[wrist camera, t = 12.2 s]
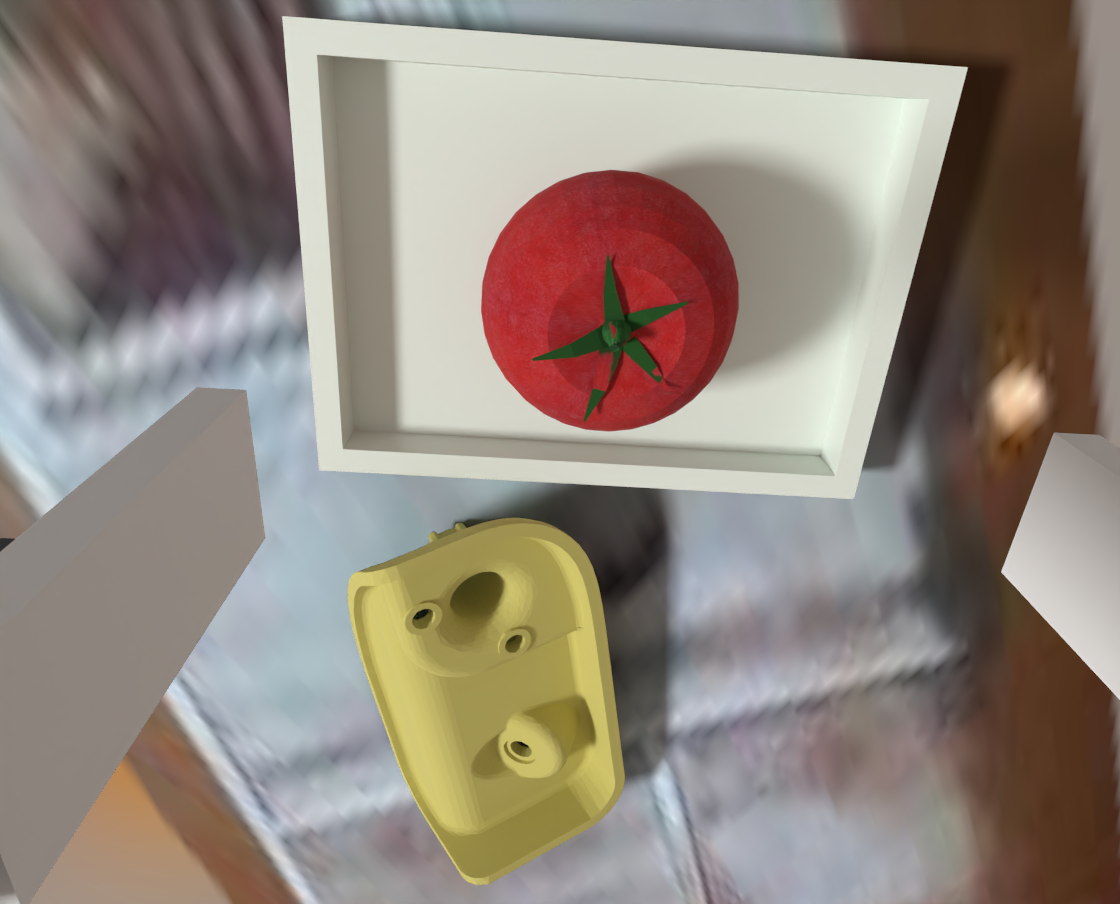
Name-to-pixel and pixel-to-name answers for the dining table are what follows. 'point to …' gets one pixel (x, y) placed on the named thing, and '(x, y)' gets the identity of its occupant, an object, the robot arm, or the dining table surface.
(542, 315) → the tomato
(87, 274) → the dining table surface
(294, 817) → the dining table surface
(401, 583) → the plastic component
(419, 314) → the tray
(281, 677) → the dining table surface
